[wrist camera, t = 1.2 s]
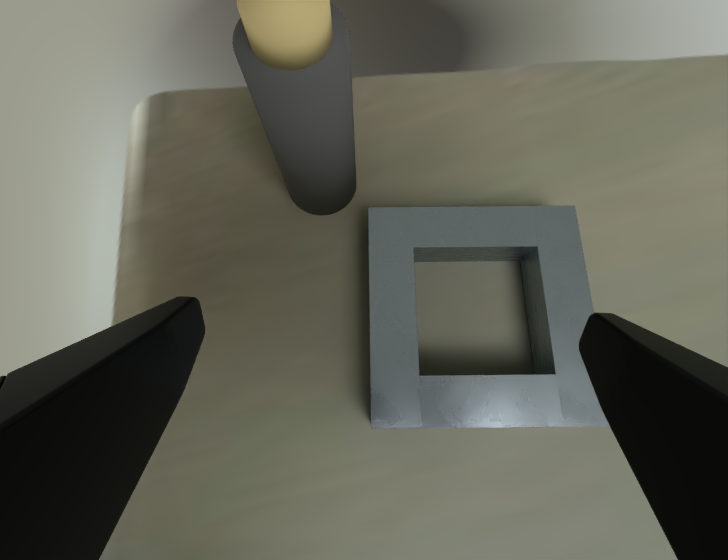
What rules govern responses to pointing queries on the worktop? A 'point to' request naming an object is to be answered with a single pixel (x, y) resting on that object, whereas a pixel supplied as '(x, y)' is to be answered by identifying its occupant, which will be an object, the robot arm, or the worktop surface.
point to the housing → (543, 306)
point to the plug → (302, 95)
